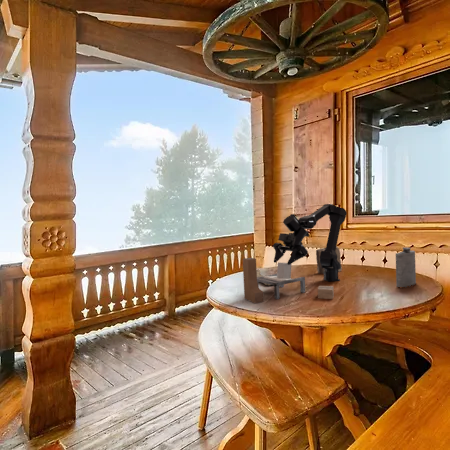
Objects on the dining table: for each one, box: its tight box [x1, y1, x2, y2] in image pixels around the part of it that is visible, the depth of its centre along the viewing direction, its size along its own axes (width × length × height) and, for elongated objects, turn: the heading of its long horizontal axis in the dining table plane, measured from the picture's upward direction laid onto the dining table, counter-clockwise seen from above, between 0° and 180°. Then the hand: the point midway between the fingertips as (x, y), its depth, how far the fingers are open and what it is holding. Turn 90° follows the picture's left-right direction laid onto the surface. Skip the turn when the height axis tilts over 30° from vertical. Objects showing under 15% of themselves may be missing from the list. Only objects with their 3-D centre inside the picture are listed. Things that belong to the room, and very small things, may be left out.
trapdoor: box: [261, 275, 290, 287], centre depth 145 cm, size 12×12×3 cm
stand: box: [317, 285, 335, 300], centre depth 135 cm, size 6×6×4 cm
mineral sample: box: [315, 246, 343, 275], centre depth 186 cm, size 17×4×15 cm, turn 108°
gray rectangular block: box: [276, 262, 292, 279], centre depth 147 cm, size 4×4×7 cm
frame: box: [257, 273, 306, 300], centre depth 146 cm, size 18×16×7 cm
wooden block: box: [242, 257, 265, 304], centre depth 134 cm, size 9×4×18 cm, turn 27°
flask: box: [395, 247, 417, 288], centre depth 147 cm, size 4×14×18 cm, turn 124°
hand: (280, 263), depth 146 cm, fingers open, 9 cm apart
